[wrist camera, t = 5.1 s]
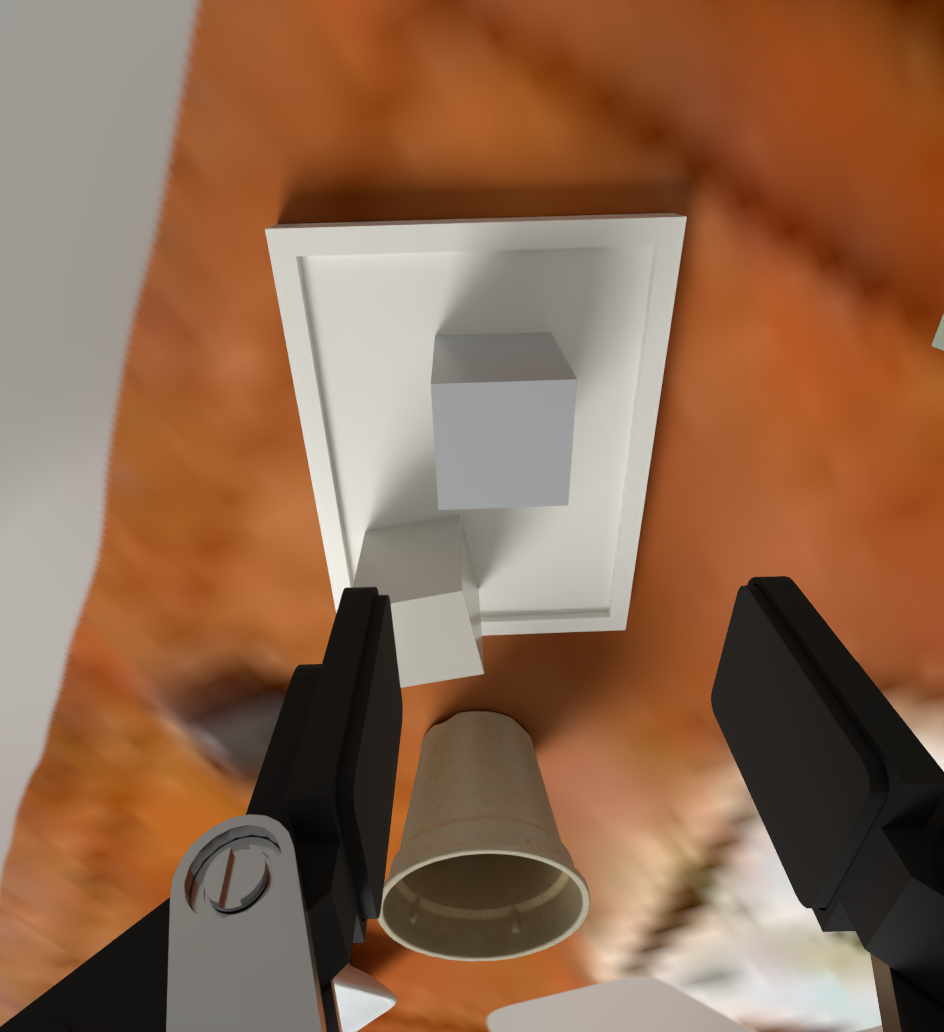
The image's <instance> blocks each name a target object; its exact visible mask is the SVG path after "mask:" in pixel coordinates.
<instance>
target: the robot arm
mask: <svg viewBox="0 0 944 1032" xmlns="http://www.w3.org/2000/svg"><path fill="white" fill-rule="evenodd" d="M711 702H712V708H713V712H714V715H715V717H716V719H717V721H718V724H719V726H720V728H721V730H722V732H723V735H724V737H725V739H726V741H727V743H728V746H729V748H730V750H731V752H732V755H733V757H734V759H735V761H736V763H737V766H738V768H739V770H740V772H741V774H742V777H743V779H744V781H745V783H746V785H747V788H748V790H749V792H750V794H751V797H752V799H753V801H754V803H755V805H756V808H757V810H758V812H759V814H760V816H761V819H762V821H763V823H764V825H765V827H766V830H767V832H768V834H769V836H770V839H771V841H772V843H773V845H774V847H775V850H776V852H777V854H778V856H779V858H780V861H781V863H782V865H783V867H784V870H785V872H786V874H787V876H788V878H789V881H790V883H791V885H792V887H793V889H794V892H795V894H796V896H797V898H798V900H799V901H800V902H801V904H802V905H803V906H804V907H806V908H812V909H813V911H814V914H815V916H816V918H817V920H818V922H819V924H820V926H821V929H822V931H823V932H832V931H856V933H857V935H858V937H859V939H860V941H861V942H862V944H863V946H864V948H865V950H867V951H868V952H870V954H871V960H872V967H873V973H874V979H875V985H876V991H877V997H878V1003H879V1009H880V1015H881V1021H882V1027H883V1032H944V772H943V770H942V769H941V768H940V767H939V765H938V764H937V763H936V761H935V760H934V759H933V758H932V756H931V755H930V754H929V753H928V751H927V750H926V749H925V747H924V746H923V745H922V744H921V742H920V741H919V740H918V739H917V737H916V736H915V735H914V733H913V732H912V731H911V730H910V728H909V727H908V726H907V725H906V723H905V722H904V721H903V719H902V718H901V717H900V716H899V714H898V713H897V712H896V711H895V709H894V708H893V707H892V705H891V704H890V703H889V702H888V700H887V699H886V698H885V697H884V695H883V694H882V693H881V691H880V690H879V689H878V688H877V686H876V685H875V684H874V683H873V681H872V680H871V679H870V677H869V676H868V675H867V674H866V672H865V671H864V670H863V669H862V667H861V666H860V665H859V663H858V662H857V661H856V660H855V659H854V658H853V656H852V655H851V654H850V653H849V651H848V650H847V649H846V648H845V646H844V645H843V644H842V642H841V641H840V640H839V639H838V637H837V636H836V635H835V634H834V632H833V631H832V630H831V628H830V627H829V626H828V625H827V623H826V622H825V621H824V620H823V618H822V617H821V616H820V614H819V613H818V612H817V611H816V609H815V608H814V607H813V605H812V604H811V603H810V602H809V600H808V599H807V598H806V597H805V595H804V594H803V593H802V591H801V590H800V589H799V588H798V586H797V585H796V584H795V583H794V581H793V580H792V579H791V578H789V577H786V576H778V577H754V578H751V580H750V581H749V582H748V585H747V586H741V587H740V588H739V590H738V593H737V597H736V601H735V605H734V608H733V612H732V616H731V620H730V624H729V628H728V632H727V635H726V639H725V643H724V647H723V651H722V655H721V659H720V662H719V666H718V670H717V674H716V678H715V682H714V686H713V689H712V694H711ZM401 727H402V695H401V687H400V679H399V670H398V662H397V654H396V645H395V637H394V629H393V620H392V612H391V604H390V597H389V595H379V593H378V589H377V587H349V588H344V590H343V593H342V596H341V599H340V603H339V607H338V610H337V614H336V617H335V621H334V624H333V628H332V631H331V635H330V638H329V642H328V645H327V649H326V652H325V656H324V660H323V663H322V664H310V665H298V666H297V668H296V669H295V671H294V673H293V676H292V678H291V681H290V684H289V687H288V690H287V693H286V696H285V699H284V702H283V705H282V708H281V711H280V714H279V717H278V720H277V723H276V726H275V729H274V732H273V735H272V738H271V741H270V744H269V747H268V750H267V753H266V756H265V759H264V762H263V765H262V768H261V771H260V774H259V777H258V780H257V783H256V786H255V789H254V792H253V795H252V798H251V801H250V804H249V807H248V810H247V813H246V815H243V816H239V817H234V818H230V819H228V820H226V821H224V822H222V823H220V824H218V825H216V826H214V827H212V828H211V829H210V830H209V831H207V832H206V833H205V834H203V835H202V836H201V837H200V838H198V839H197V840H196V841H195V843H194V844H193V845H192V846H191V847H190V849H189V850H188V851H187V852H186V853H185V855H184V856H183V857H182V860H181V862H180V864H179V866H178V868H177V870H176V872H175V874H174V877H173V882H172V887H171V892H170V898H168V899H167V900H166V901H165V902H163V903H162V904H161V905H159V906H158V907H157V908H155V909H154V910H153V911H151V912H150V913H149V914H147V915H146V916H145V917H144V918H142V919H141V920H140V921H138V922H137V923H136V924H134V925H133V926H132V927H130V928H129V929H128V930H127V931H125V932H124V933H123V934H121V935H120V936H119V937H117V938H116V939H115V940H113V941H112V942H111V943H110V944H108V945H107V946H106V947H104V948H103V949H102V950H100V951H99V952H98V953H96V954H95V955H94V956H93V957H91V958H90V959H89V960H87V961H86V962H85V963H83V964H82V965H81V966H79V967H78V968H77V969H75V970H74V971H73V972H72V973H70V974H69V975H68V976H66V977H65V978H64V979H62V980H61V981H60V982H58V983H57V984H56V985H55V986H53V987H52V988H51V989H49V990H48V991H47V992H45V993H44V994H43V995H41V996H40V997H39V998H38V999H36V1000H35V1001H34V1002H32V1003H31V1004H30V1005H28V1006H27V1007H26V1008H24V1009H23V1010H22V1011H21V1012H19V1013H18V1014H17V1015H15V1016H14V1017H13V1018H11V1019H10V1020H9V1021H7V1022H6V1023H5V1024H4V1025H2V1026H1V1027H0V1032H342V1027H341V1021H340V1015H339V1010H338V1004H337V998H336V992H335V987H334V981H333V978H334V977H335V976H336V975H337V974H338V973H339V972H340V971H341V970H342V969H343V968H344V967H345V966H346V965H347V964H348V963H349V962H350V958H351V951H352V944H353V943H364V941H365V933H366V925H367V919H378V918H379V916H380V912H381V906H382V897H383V888H384V879H385V870H386V861H387V852H388V843H389V834H390V825H391V816H392V807H393V798H394V789H395V780H396V771H397V762H398V753H399V744H400V736H401Z"/></svg>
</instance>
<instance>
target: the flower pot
mask: <svg viewBox="0 0 944 1032" xmlns="http://www.w3.org/2000/svg"><path fill="white" fill-rule="evenodd" d="M589 908H590V893H589V889H588V886H587V884H586V881H585V879H584V878H583V876H582V875H581V874H580V872H579V871H578V870H577V869H576V868H575V867H574V864H573V861H572V858H571V856H570V853H569V852H568V850H567V848H566V847H565V846H564V845H563V844H562V842H561V839H560V836H559V832H558V829H557V826H556V822H555V819H554V816H553V812H552V809H551V806H550V802H549V799H548V796H547V792H546V789H545V785H544V782H543V779H542V775H541V772H540V769H539V765H538V762H537V758H536V755H535V751H534V747H533V743H532V740H531V737H530V735H529V734H528V733H526V731H525V730H524V729H523V728H522V727H521V726H520V725H519V724H518V723H517V722H516V721H515V720H514V719H512V718H510V717H508V716H505V715H502V714H499V713H495V712H488V711H468V712H461V713H457V714H455V715H454V716H453V717H452V718H450V719H449V720H447V721H446V722H444V723H441V724H438V725H434V726H433V727H432V728H431V729H430V730H429V731H428V733H427V734H426V736H425V737H424V739H423V742H422V745H421V752H420V757H419V762H418V767H417V772H416V777H415V781H414V786H413V791H412V795H411V800H410V804H409V809H408V813H407V818H406V822H405V827H404V831H403V836H402V841H401V846H400V850H399V852H398V853H397V854H396V856H395V858H394V860H393V862H392V865H391V869H390V874H389V877H388V878H387V880H386V881H385V882H384V888H383V897H382V906H381V912H380V916H379V918H378V922H379V924H380V925H381V927H382V928H384V930H385V932H386V933H387V934H388V935H389V936H390V937H391V938H392V939H393V940H395V941H396V942H398V943H400V944H401V945H403V946H404V947H406V948H409V949H411V950H413V951H416V952H419V953H424V954H425V955H429V956H433V957H440V958H444V959H449V960H458V961H461V960H462V961H493V960H503V959H512V958H517V957H521V956H525V955H528V954H532V953H535V952H538V951H541V950H544V949H547V948H549V947H551V946H553V945H555V944H557V943H559V942H561V941H563V940H564V939H566V938H567V937H569V936H570V935H571V934H572V933H574V932H575V931H576V930H577V929H578V928H579V927H580V926H581V924H582V923H583V922H584V920H585V919H586V916H587V914H588V911H589Z"/></svg>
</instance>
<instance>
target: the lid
mask: <svg viewBox="0 0 944 1032" xmlns="http://www.w3.org/2000/svg"><path fill="white" fill-rule="evenodd" d="M932 346H933V347H936V348H938V349H941V350H943V351H944V314H943V317H942V320H941V322H940V325H939V327H938V330H937V333H936V335H935V338H934V341H933V343H932Z"/></svg>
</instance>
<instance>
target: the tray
mask: <svg viewBox="0 0 944 1032" xmlns="http://www.w3.org/2000/svg"><path fill="white" fill-rule="evenodd" d="M333 981H334V987H335V992H336V998H337V1004H338V1010H339V1015H340V1021H341V1027H342V1032H356V1031H358V1030H359V1029H361V1028H362V1027H364V1026H365V1025H367V1024H368V1023H370V1022H371V1021H373V1020H374V1019H376V1018H377V1017H379V1016H380V1015H382V1014H383V1013H385V1012H386V1011H388V1010H389V1009H390V1008H391V1007H393V1006H394V1005H395V1003H396V1001H397V997H396V996H395V994H394V993H393V992H392V991H390V990H389V989H388V988H387V987H385V986H384V985H383V984H382V983H380V982H379V981H377V980H376V979H375V978H373V977H372V976H370V975H368V974H367V973H365V972H363V971H361V970H359V969H357V968H354V967H352V966H351V965H350V963H348V964H347V965H346V966H345V967H344V968H343V969H342V970H341V971H340V972H339V973H338V974H337V975H336V976H335V977H334V978H333Z"/></svg>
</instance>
